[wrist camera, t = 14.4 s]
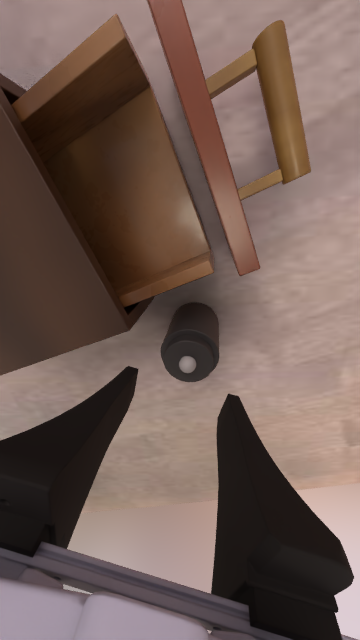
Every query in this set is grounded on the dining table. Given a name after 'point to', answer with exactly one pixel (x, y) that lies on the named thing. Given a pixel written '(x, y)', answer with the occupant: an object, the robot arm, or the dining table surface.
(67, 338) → the cabinet
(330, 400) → the dining table surface
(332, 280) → the dining table surface
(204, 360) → the pepper mill
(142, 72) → the drawer
